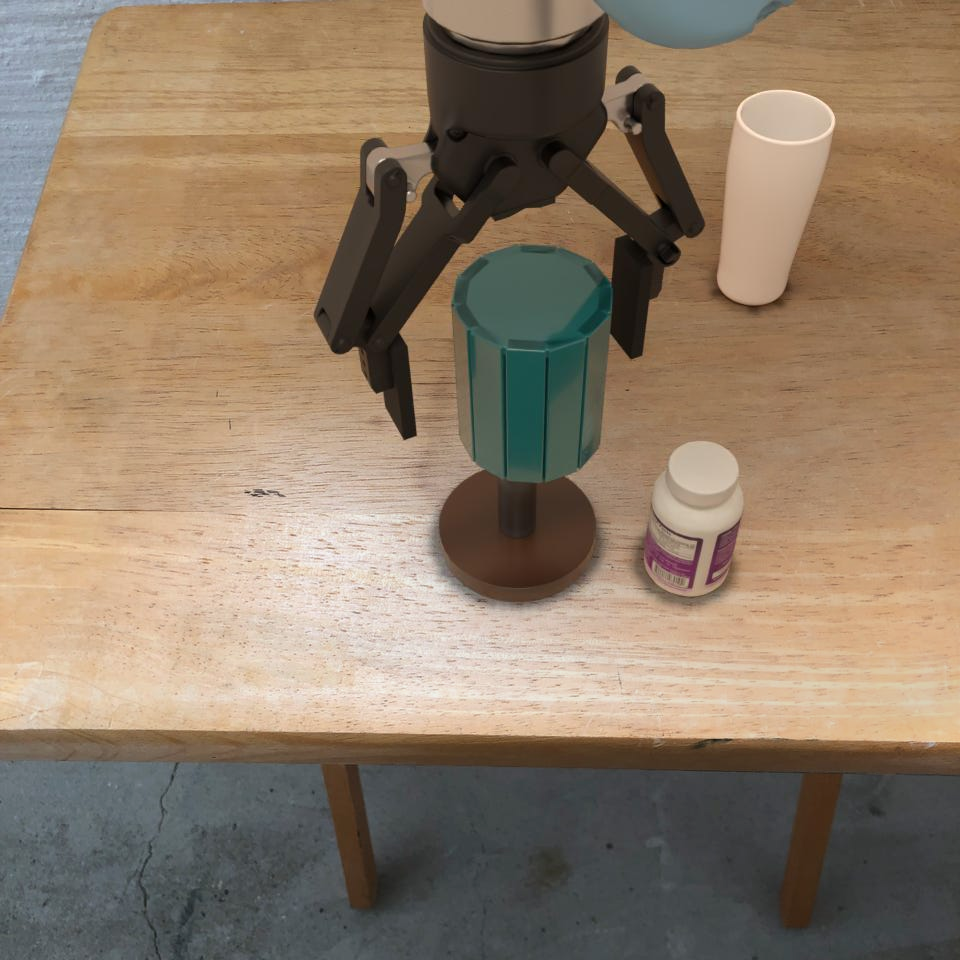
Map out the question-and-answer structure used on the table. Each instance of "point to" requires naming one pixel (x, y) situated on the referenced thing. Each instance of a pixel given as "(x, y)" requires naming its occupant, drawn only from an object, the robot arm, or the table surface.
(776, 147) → the drinking glass
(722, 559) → the pill bottle
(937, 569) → the table surface
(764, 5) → the robot arm
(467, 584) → the towel holder
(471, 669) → the table surface
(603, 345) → the teal fluted cylinder
